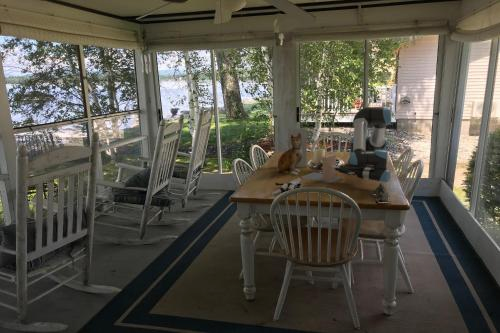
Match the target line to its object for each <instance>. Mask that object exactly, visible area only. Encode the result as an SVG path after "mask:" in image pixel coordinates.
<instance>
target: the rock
mask: <svg viewBox="0 0 500 333" xmlns="http://www.w3.org/2000/svg"><path fill="white" fill-rule="evenodd" d="M372 194H376V196H377V202H389V201H388V197H389V196H390V194H389V192H388V191H387V189H386V187H385V185H384V182H380V183H379V185H378V186H377V187H376V188H375V190H373V191H372V193H371V195H372ZM376 196H375V197H376Z"/></svg>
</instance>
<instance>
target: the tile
mask: <svg viewBox="0 0 500 333" xmlns="http://www.w3.org/2000/svg"><path fill="white" fill-rule="evenodd" d="M331 166H337V154H333V153H331V154H329V155H324V156H322V174H323V175H322V180H324V181H327V180H330V179H332V178H335V176H337V174H336V173H337V171H334V170H331Z"/></svg>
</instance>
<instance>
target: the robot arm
mask: <svg viewBox="0 0 500 333" xmlns="http://www.w3.org/2000/svg"><path fill="white" fill-rule="evenodd" d="M391 124H392V108H391V107H390V106H389V107H388V106H365V107H363V108H360V109H359V110H358V111H357V112H356V114H355V115H354V117H353V120H352V126H353V136H352V137H351V138H350V152H349V157H348V160H347V165H348V166H337V165H336V166H331V170H334V171H336V172H339V173H340V174H344V175H348V176H351V175H352V176H356V177H357V178H358V179H361V180H362V179H364V180H368V181H370V180H371V181H376V182H379V183H388V182H390V179H391V175H392V174H391V171H390V170H388V169H387V163H388V151H387V145H388V138H387V137H385V134H386V127H388V126H389V125H391ZM368 125H371V126H372V132H371V136H367V126H368ZM366 166H367V167H366ZM368 166H373V167H368Z"/></svg>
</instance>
